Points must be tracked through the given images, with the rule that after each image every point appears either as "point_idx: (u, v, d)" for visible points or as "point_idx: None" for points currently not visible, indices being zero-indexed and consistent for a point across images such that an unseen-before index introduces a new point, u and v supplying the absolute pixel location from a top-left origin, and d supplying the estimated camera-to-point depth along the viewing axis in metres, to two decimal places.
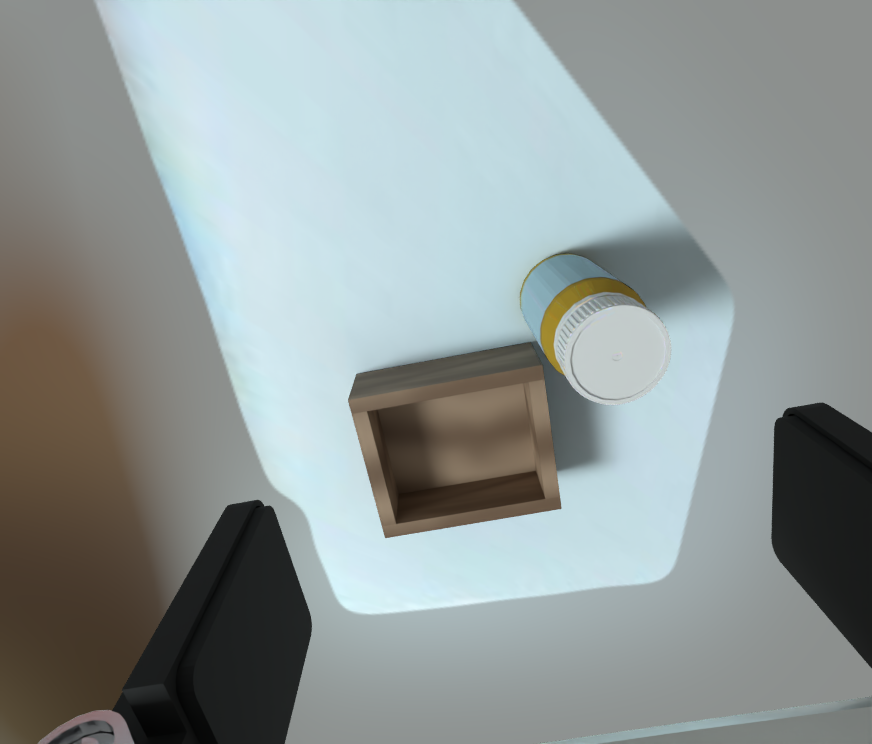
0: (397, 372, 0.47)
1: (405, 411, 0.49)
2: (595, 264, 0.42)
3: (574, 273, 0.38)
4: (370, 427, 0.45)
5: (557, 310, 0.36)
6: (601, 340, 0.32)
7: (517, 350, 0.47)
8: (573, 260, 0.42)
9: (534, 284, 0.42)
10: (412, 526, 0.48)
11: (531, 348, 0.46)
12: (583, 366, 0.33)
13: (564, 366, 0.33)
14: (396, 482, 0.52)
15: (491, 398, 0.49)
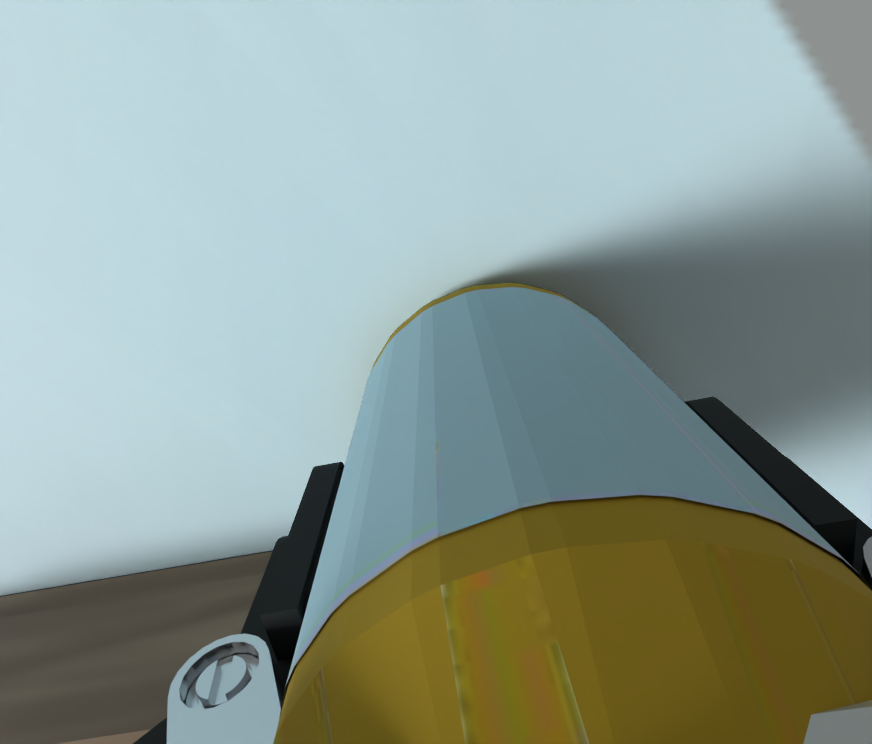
0: (20, 624, 0.16)
1: None
2: (598, 332, 0.11)
3: (489, 416, 0.07)
4: None
5: None
6: None
7: None
8: (513, 317, 0.11)
9: (368, 403, 0.11)
10: None
11: None
12: None
13: None
14: None
15: None
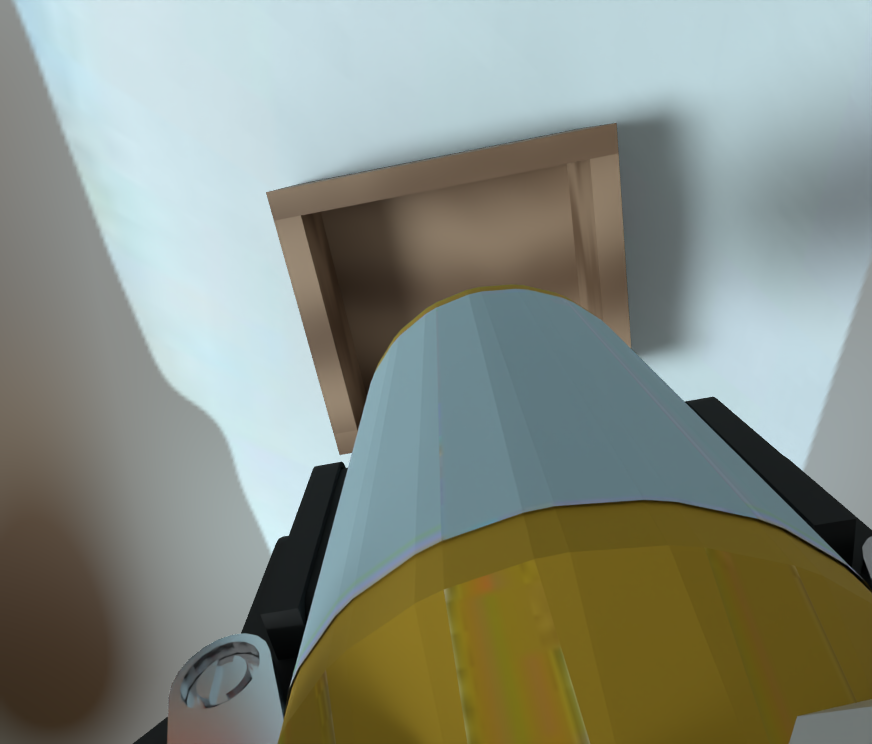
0: (360, 172, 0.28)
1: (374, 249, 0.30)
2: (602, 334, 0.11)
3: (492, 419, 0.07)
4: (307, 248, 0.25)
5: None
6: None
7: (563, 132, 0.27)
8: (517, 319, 0.11)
9: (371, 404, 0.11)
10: None
11: (588, 127, 0.27)
12: None
13: None
14: (362, 374, 0.32)
15: (516, 225, 0.29)
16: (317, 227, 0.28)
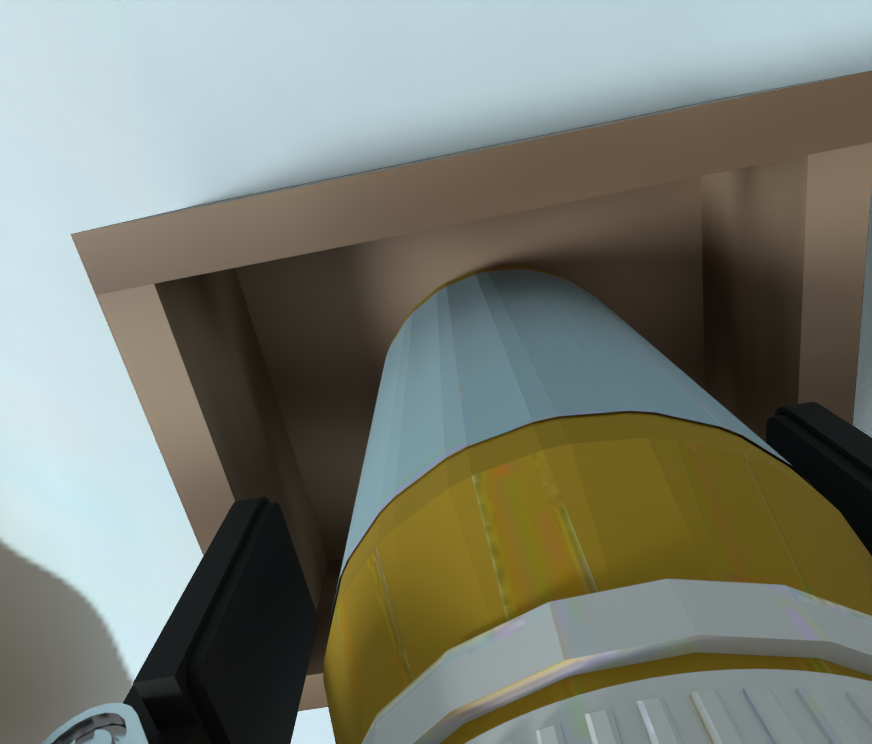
0: None
1: (335, 325, 0.16)
2: (597, 305, 0.12)
3: (504, 364, 0.08)
4: (175, 352, 0.12)
5: (369, 626, 0.06)
6: None
7: None
8: (521, 292, 0.12)
9: (390, 370, 0.13)
10: None
11: (754, 92, 0.14)
12: None
13: None
14: (320, 531, 0.19)
15: (598, 281, 0.16)
16: (217, 293, 0.14)
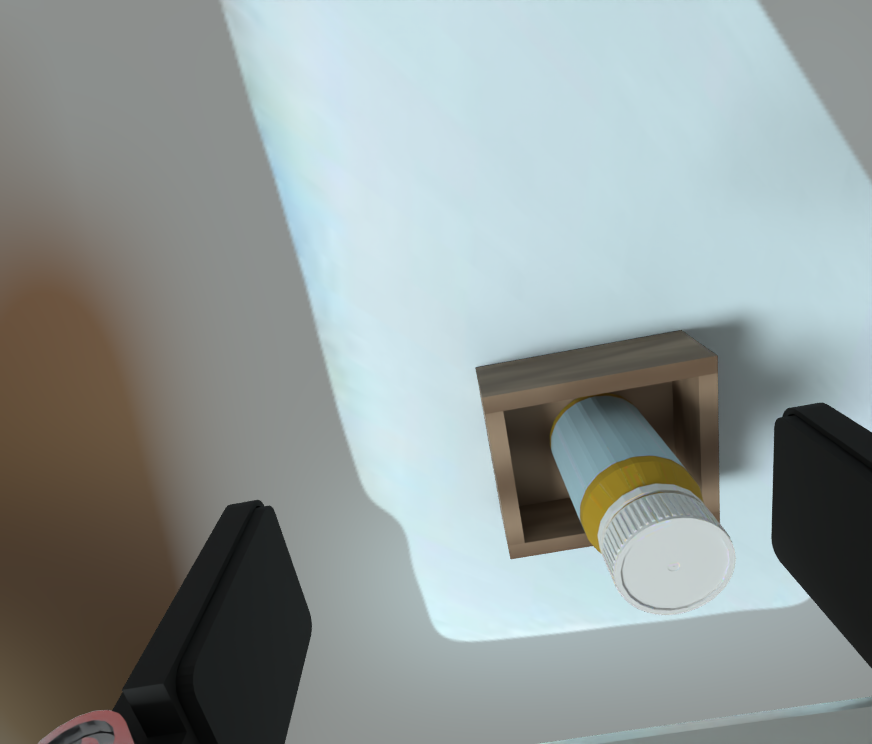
0: (528, 365, 0.40)
1: (531, 411, 0.42)
2: (636, 415, 0.38)
3: (617, 441, 0.34)
4: (505, 430, 0.38)
5: (601, 496, 0.32)
6: (656, 551, 0.29)
7: (671, 339, 0.40)
8: (611, 410, 0.38)
9: (568, 435, 0.39)
10: (543, 545, 0.41)
11: (688, 337, 0.40)
12: (634, 577, 0.29)
13: (613, 576, 0.29)
14: None
15: (633, 396, 0.42)
16: None
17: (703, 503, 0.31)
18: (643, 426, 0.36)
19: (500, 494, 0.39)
